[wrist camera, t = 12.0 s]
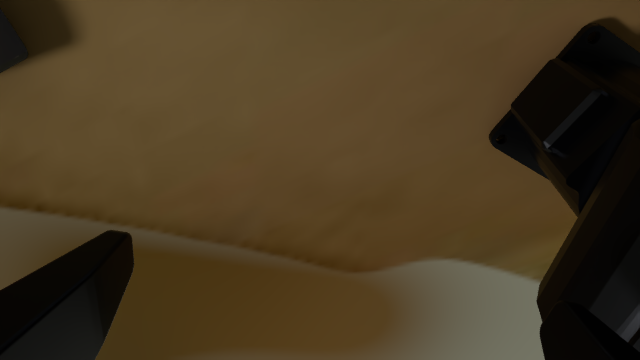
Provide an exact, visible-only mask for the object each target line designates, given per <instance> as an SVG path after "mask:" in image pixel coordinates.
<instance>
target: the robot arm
mask: <svg viewBox="0 0 640 360" xmlns="http://www.w3.org/2000/svg"><path fill="white" fill-rule="evenodd" d="M592 32H596V36H595V38H594V39H593V40H592V41H589V42H588V36H589V35H590V34H591V33H592ZM500 135H505V137H504V138H503V139H502V140H499V141H498V140H496V139H497V137H498V136H500ZM489 140H490V142H491V144H492V145H493V146H494V147H495V148H496V149H498V150H500V151H501V152H503V153H505V154H506V155H508V156H510V157H512V158H513V159H515V160H517V161H518V162H520V163H522V164H523V165H525V166H527V167H528V168H530V169H532V170H533V171H535V172H537V173H538V174H540V175H542V176H543V177H545V178H547V179H548V180H550V181H551V182H552V184H553V185H554V186H555V188H556V189H557V190H558V192H559V193H560V194H561V196H562V197H563V198H564V200H565V201H566V202H567V204H568V205H569V206H570V208H571V209H572V210H573V212H574V213H575V214H576V216H577V217H578V218H577V220H576V222H575V224H574V225H573V227H572V229H571V231H570V232H569V234H568V236H567V238H566V239H565V241H564V243H563V245H562V246H561V248H560V250H559V252H558V253H557V255H556V257H555V259H554V260H553V262H552V264H551V266H550V267H549V269H548V271H547V273H546V274H545V276H544V278H543V280H542V281H541V283H540V285H539V291H538V296H537V305H538V308H539V312H540V315H541V319H542V322H543V323H542V324H541V327H540V339H541V343H542V348H543V353H544V357H545V360H640V53H639V52H638V51H636V50H635V49H634V48H632V47H631V46H629V45H628V44H627V43H625V42H624V41H622V40H621V39H620V38H618V37H617V36H616V35H614V34H613V33H611V32H610V31H609V30H607V29H606V28H605V27H603V26H600V25H598V24H595V23H592V24H588V25H586V26H584V27H583V28H582V29H581V30H580V31H579V32H578V33H577V34H576V35H575V37H574V38H573V39H572V40H571V41H570V42H569V43H568V44H567V46H566V47H565V48H564V49H563V50H562V51H561V52H560V54H559V55H558V56H557V57H556V58H555V59H552V60H549V61H548V63H547V64H546V65H545V66H544V67H543V68H542V69H541V71H540V72H539V73H538V74H537V75H536V76H535V77H534V79H533V80H532V81H531V82H530V83H529V84H528V85H527V87H526V88H525V89H524V90H523V91H522V92H521V93H520V95H519V96H518V97H517V98H516V99H515V100H514V101H513V103H512V104H511V109H510V110H509V111H508V113H507V114H506V115H505V116H504V117H503V118H502V119H501V121H500V122H499V123H498V124H497V125H496V126H495V127H494V129H493V130H492V131H491V132H490V134H489ZM133 268H134V257H133V245H132V237H131V235H130V234H129V233H127V232H122V231H115V230H109V231H106V232H104V233H102V234H100V235H99V236H97V237H95V238H94V239H91V240H90V241H88V242H86V243H84V244H83V245H81V246H79V247H77V248H75V249H74V250H72V251H70V252H68V253H67V254H65V255H63V256H61V257H59V258H57V259H56V260H54V261H52V262H50V263H48V264H47V265H45V266H43V267H41V268H40V269H38V270H36V271H34V272H33V273H31V274H29V275H27V276H25V277H24V278H22V279H20V280H18V281H16V282H14V283H13V284H11V285H9V286H7V287H5V288H4V289H2V290H0V360H95V358H96V356H97V355H98V353H99V351H100V349H101V347H102V345H103V343H104V341H105V338H106V336H107V334H108V331H109V329H110V327H111V324H112V321H113V319H114V317H115V314H116V312H117V309H118V307H119V304H120V302H121V300H122V297H123V295H124V292H125V290H126V287H127V285H128V282H129V280H130V277H131V275H132V272H133Z"/></svg>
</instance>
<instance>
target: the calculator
mask: <svg viewBox="0 0 640 360" xmlns="http://www.w3.org/2000/svg"><path fill="white" fill-rule="evenodd" d="M27 56H28V52H27V49H26V47H25V46H24V44H23V42H22V41H21V39H20V38H19V36H18V35H17V33H16V32H15V30H14V29H13V27H12V25H11V24H10V22H9V21H8V19H7V18H6V16H5V15H4V13H3V12H2V10H1V9H0V73H1V72H3V71H4V70H6V69H8V68H10V67H12V66H14V65H15V64H17V63H19V62H21V61H23V60H25V59H26V58H27Z"/></svg>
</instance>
